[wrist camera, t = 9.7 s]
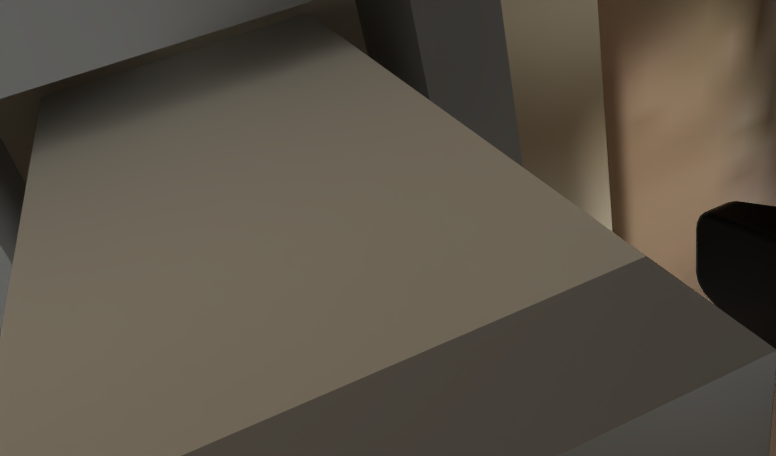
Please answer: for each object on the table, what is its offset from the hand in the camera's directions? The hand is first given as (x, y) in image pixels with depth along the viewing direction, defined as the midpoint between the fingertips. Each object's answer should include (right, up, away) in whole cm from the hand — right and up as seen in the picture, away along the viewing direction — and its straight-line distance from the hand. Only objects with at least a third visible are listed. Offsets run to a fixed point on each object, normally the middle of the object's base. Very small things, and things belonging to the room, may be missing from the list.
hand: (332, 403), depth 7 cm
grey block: (-2, +2, +5) cm, 5 cm away
